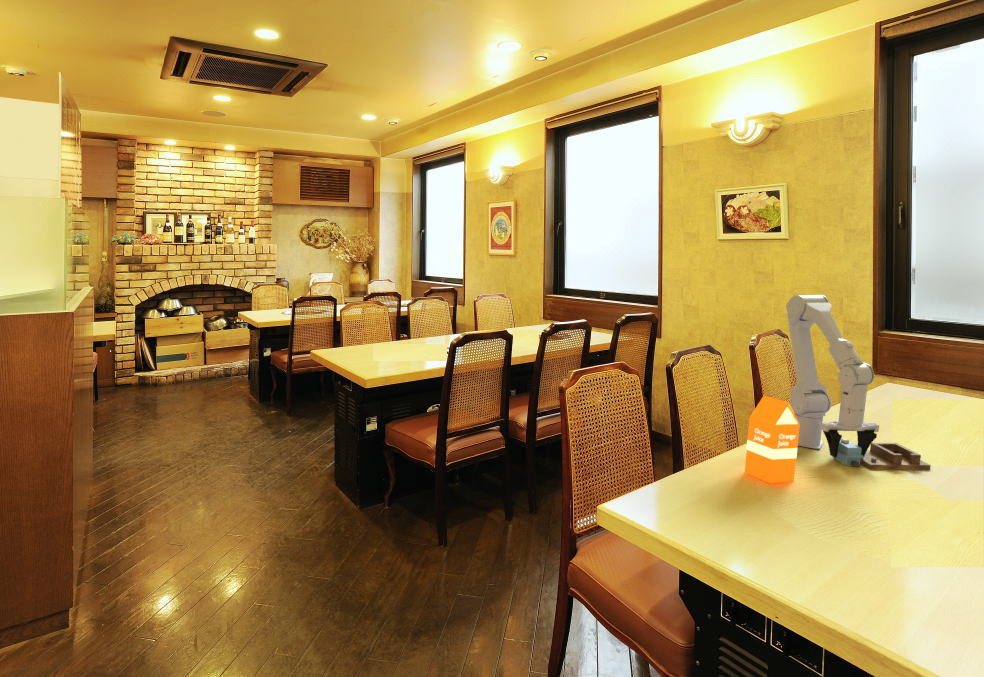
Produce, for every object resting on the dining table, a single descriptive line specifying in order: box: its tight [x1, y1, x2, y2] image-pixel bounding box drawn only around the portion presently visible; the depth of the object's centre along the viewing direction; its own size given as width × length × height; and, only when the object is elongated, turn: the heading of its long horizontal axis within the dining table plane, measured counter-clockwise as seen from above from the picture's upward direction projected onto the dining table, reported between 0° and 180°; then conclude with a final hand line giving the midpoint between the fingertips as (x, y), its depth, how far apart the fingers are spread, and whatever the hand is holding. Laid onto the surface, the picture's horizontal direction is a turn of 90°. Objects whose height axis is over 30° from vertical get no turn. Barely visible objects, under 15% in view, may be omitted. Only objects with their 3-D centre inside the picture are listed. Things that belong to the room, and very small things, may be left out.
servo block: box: [833, 438, 864, 467], centre depth 163 cm, size 9×4×6 cm, turn 0°
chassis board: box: [860, 442, 932, 470], centre depth 163 cm, size 16×11×4 cm
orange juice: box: [744, 395, 800, 484], centre depth 151 cm, size 8×9×20 cm
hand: (846, 456), depth 163 cm, fingers open, 7 cm apart
